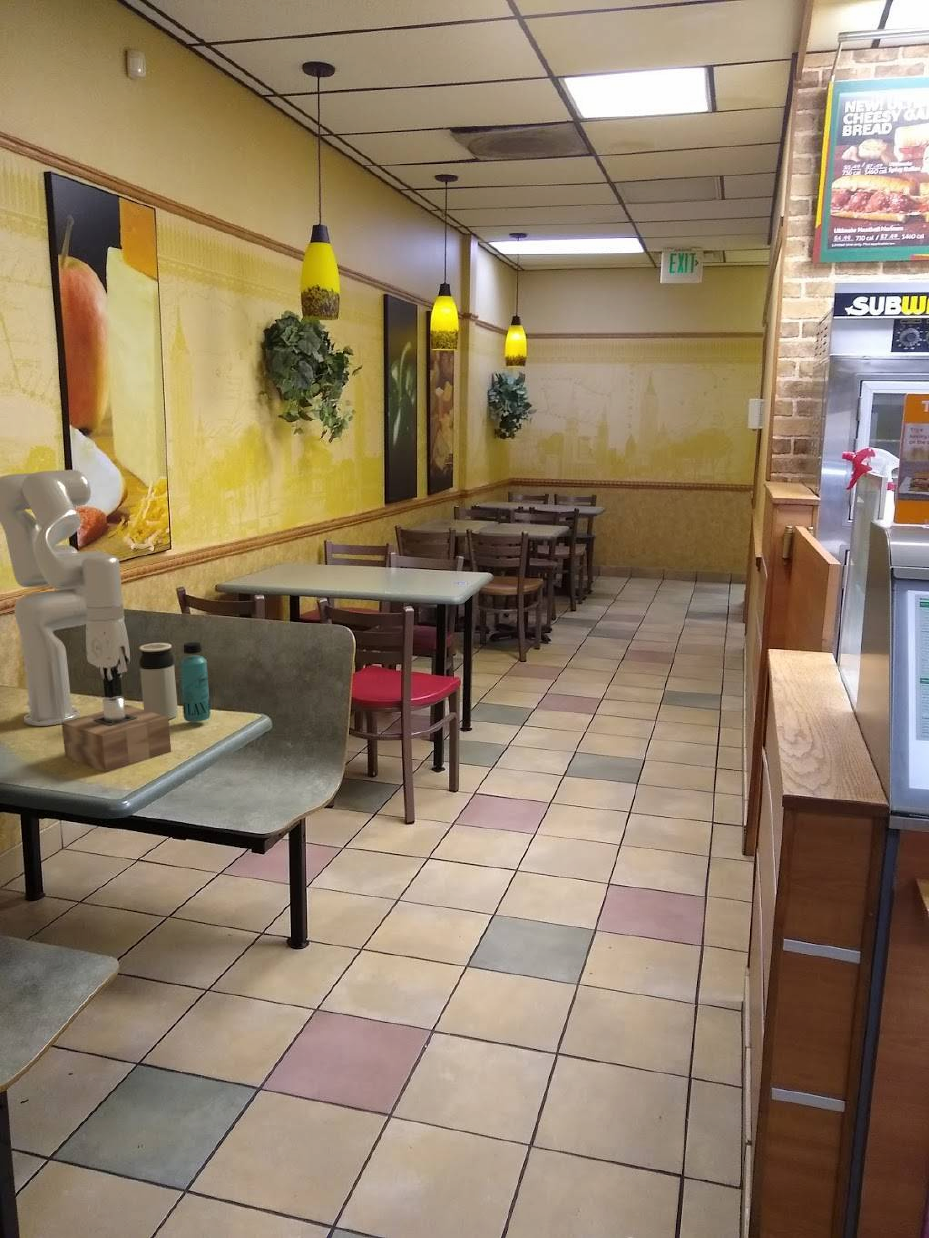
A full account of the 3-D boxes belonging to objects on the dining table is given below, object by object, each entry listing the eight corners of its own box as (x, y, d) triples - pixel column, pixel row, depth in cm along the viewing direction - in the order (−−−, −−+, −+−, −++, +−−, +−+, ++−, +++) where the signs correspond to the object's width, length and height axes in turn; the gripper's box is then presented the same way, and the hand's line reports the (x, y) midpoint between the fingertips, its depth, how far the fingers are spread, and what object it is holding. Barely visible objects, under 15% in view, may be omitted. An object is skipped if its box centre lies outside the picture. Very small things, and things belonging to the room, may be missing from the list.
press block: (65, 757, 215) (61, 721, 214) (129, 737, 228) (126, 703, 226) (106, 772, 206) (102, 735, 204) (171, 751, 218) (168, 716, 216)
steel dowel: (101, 733, 215) (98, 699, 214) (119, 728, 219) (116, 694, 217) (113, 737, 213) (109, 702, 211) (131, 731, 216) (128, 697, 214)
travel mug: (168, 722, 239) (162, 650, 235) (138, 721, 240) (132, 649, 237) (183, 712, 246) (178, 642, 243) (154, 711, 248) (148, 642, 244)
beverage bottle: (179, 727, 235) (172, 646, 230) (190, 719, 241) (184, 639, 237) (205, 728, 234) (199, 646, 230) (215, 719, 240) (210, 640, 236)
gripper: (70, 612, 212) (78, 694, 215) (109, 620, 203) (117, 705, 206) (101, 607, 218) (109, 687, 221) (141, 614, 208) (148, 697, 212)
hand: (113, 695), depth 214 cm, fingers closed
